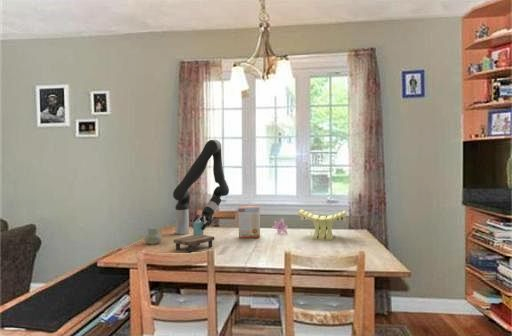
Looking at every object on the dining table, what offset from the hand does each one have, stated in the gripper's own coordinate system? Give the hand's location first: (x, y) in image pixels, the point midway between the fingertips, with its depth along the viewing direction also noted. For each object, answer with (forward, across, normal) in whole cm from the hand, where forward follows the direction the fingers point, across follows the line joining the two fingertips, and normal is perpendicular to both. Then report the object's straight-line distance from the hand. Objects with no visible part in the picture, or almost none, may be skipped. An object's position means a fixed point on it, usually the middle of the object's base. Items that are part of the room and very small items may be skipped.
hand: (197, 228), depth 264 cm
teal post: (+5, 0, +6) cm, 8 cm away
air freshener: (+21, -17, -10) cm, 29 cm away
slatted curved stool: (-36, +59, +47) cm, 84 cm away
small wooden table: (+16, +14, -5) cm, 22 cm away
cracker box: (-14, +20, +26) cm, 36 cm away
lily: (-31, +29, +42) cm, 60 cm away
